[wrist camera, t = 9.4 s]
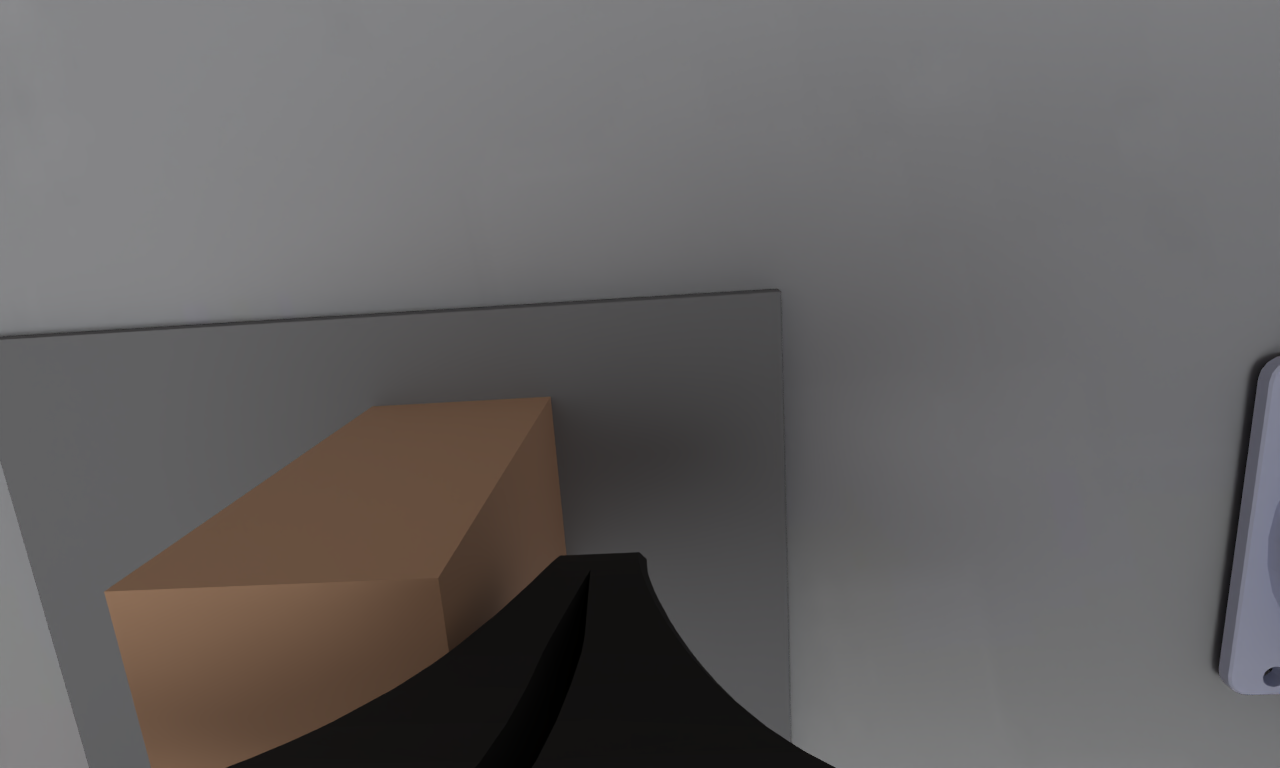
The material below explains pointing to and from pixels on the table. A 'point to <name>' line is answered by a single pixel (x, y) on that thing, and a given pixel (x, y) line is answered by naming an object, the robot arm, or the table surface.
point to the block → (338, 576)
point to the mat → (399, 375)
